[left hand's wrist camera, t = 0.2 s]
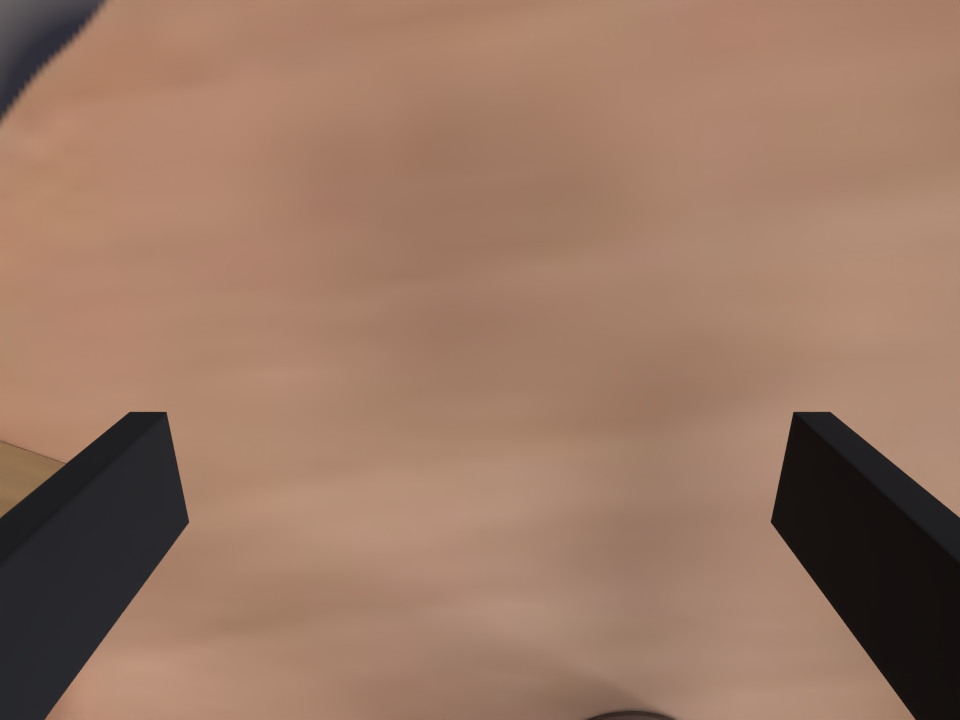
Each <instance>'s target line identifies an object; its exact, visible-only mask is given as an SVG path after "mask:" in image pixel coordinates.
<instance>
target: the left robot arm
mask: <svg viewBox="0 0 960 720" xmlns="http://www.w3.org/2000/svg"><path fill="white" fill-rule="evenodd" d="M188 523H189V519H188V514H187V510H186V505H185V500H184V495H183V490H182V485H181V480H180V476H179V471H178V466H177V461H176V456H175V451H174V446H173V442H172V437H171V432H170V427H169V422H168V417H167V412H129V413H128V414H127V415H126V416H124V417H123V418H122V419H121V420H119V421H118V422H117V423H116V424H114V425H113V426H112V427H111V428H110V429H108V430H107V431H106V432H105V433H103V434H102V435H101V436H100V437H99V438H97V439H96V440H95V441H94V442H92V443H91V444H90V445H89V446H88V447H86V448H85V449H84V450H83V451H81V452H80V453H79V454H78V455H77V456H75V457H74V458H73V459H72V460H70V461H69V462H68V463H67V464H66V465H64V466H63V467H62V468H61V469H59V470H58V471H57V472H56V473H55V474H53V475H52V476H51V477H50V478H48V479H47V480H46V481H45V482H43V483H42V484H41V485H40V486H39V487H37V488H36V489H35V490H34V491H32V492H31V493H30V494H29V495H28V496H26V497H25V498H24V499H23V500H21V501H20V502H19V503H18V504H17V505H15V506H14V507H13V508H12V509H10V510H9V511H8V512H7V513H6V514H4V515H3V516H2V517H1V518H0V720H44V719H45V718H46V717H47V715H48V714H49V712H50V711H51V710H52V708H53V707H54V706H55V704H56V703H57V702H58V700H59V699H60V697H61V696H62V695H63V693H64V692H65V691H66V689H67V688H68V687H69V685H70V684H71V682H72V681H73V680H74V678H75V677H76V676H77V674H78V673H79V672H80V670H81V669H82V668H83V666H84V665H85V663H86V662H87V661H88V659H89V658H90V657H91V655H92V654H93V653H94V651H95V650H96V648H97V647H98V646H99V644H100V643H101V642H102V640H103V639H104V638H105V636H106V635H107V633H108V632H109V631H110V629H111V628H112V627H113V625H114V624H115V623H116V621H117V620H118V618H119V617H120V616H121V614H122V613H123V612H124V610H125V609H126V608H127V606H128V605H129V603H130V602H131V601H132V599H133V598H134V597H135V595H136V594H137V593H138V591H139V590H140V588H141V587H142V586H143V584H144V583H145V582H146V580H147V579H148V578H149V576H150V575H151V573H152V572H153V571H154V569H155V568H156V567H157V565H158V564H159V563H160V561H161V560H162V559H163V557H164V556H165V554H166V553H167V552H168V550H169V549H170V548H171V546H172V545H173V544H174V542H175V541H176V539H177V538H178V537H179V535H180V534H181V533H182V531H183V530H184V529H185V527H186V526H187V524H188ZM771 523H772V524H773V526H774V527H775V529H776V530H777V531H778V533H779V534H780V535H781V537H782V538H783V539H784V541H785V542H786V544H787V545H788V546H789V548H790V549H791V550H792V552H793V553H794V554H795V556H796V557H797V559H798V560H799V561H800V563H801V564H802V565H803V567H804V568H805V569H806V571H807V572H808V573H809V575H810V576H811V578H812V579H813V580H814V582H815V583H816V584H817V586H818V587H819V588H820V590H821V591H822V593H823V594H824V595H825V597H826V598H827V599H828V601H829V602H830V603H831V605H832V606H833V608H834V609H835V610H836V612H837V613H838V614H839V616H840V617H841V618H842V620H843V621H844V623H845V624H846V625H847V627H848V628H849V629H850V631H851V632H852V633H853V635H854V636H855V638H856V639H857V640H858V642H859V643H860V644H861V646H862V647H863V648H864V650H865V651H866V653H867V654H868V655H869V657H870V658H871V659H872V661H873V662H874V663H875V665H876V666H877V668H878V669H879V670H880V672H881V673H882V674H883V676H884V677H885V678H886V680H887V681H888V682H889V684H890V685H891V687H892V688H893V689H894V691H895V692H896V693H897V695H898V696H899V697H900V699H901V700H902V702H903V703H904V704H905V706H906V707H907V708H908V710H909V711H910V712H911V714H912V715H913V717H914V718H915V719H916V720H960V518H959V517H958V516H957V515H956V514H954V513H953V512H952V511H951V510H950V509H948V508H947V507H946V506H945V505H943V504H942V503H941V502H940V501H939V500H937V499H936V498H935V497H934V496H932V495H931V494H930V493H929V492H928V491H926V490H925V489H924V488H923V487H921V486H920V485H919V484H918V483H917V482H915V481H914V480H913V479H912V478H910V477H909V476H908V475H907V474H905V473H904V472H903V471H902V470H901V469H899V468H898V467H897V466H896V465H894V464H893V463H892V462H891V461H890V460H888V459H887V458H886V457H885V456H883V455H882V454H881V453H880V452H879V451H877V450H876V449H875V448H874V447H872V446H871V445H870V444H869V443H868V442H866V441H865V440H864V439H863V438H861V437H860V436H859V435H858V434H857V433H855V432H854V431H853V430H852V429H850V428H849V427H848V426H847V425H846V424H844V423H843V422H842V421H841V420H839V419H838V418H837V417H836V416H834V415H833V414H832V413H831V412H793V417H792V422H791V427H790V432H789V437H788V442H787V446H786V451H785V456H784V461H783V466H782V471H781V476H780V480H779V485H778V490H777V495H776V500H775V505H774V510H773V514H772V519H771ZM590 720H673V719H671V718H668V717H665V716H662V715H658V714H653V713H647V712H618V713H611V714H606V715H602V716H599V717H595V718H592V719H590Z"/></svg>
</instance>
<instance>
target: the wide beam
mask: <svg viewBox="0 0 960 720" xmlns="http://www.w3.org/2000/svg"><path fill="white" fill-rule="evenodd" d="M64 465H66V464H64V463H61V462H58V461H55V460H52V459H49V458H47V457H44V456H41V455H38V454H35V453H32V452H29V451H27V450H24V449H21V448H18V447H15V446H12V445H10V444H7V443H4V442H1V441H0V518H1V517H2V516H3V515H4V514H6V513H7V512H8V511H9V510H10V509H12V508H13V507H14V506H15V505H17V504H18V503H19V502H20V501H21V500H23V499H24V498H25V497H26V496H28V495H29V494H30V493H31V492H32V491H34V490H35V489H36V488H37V487H39V486H40V485H41V484H42V483H43V482H45V481H46V480H47V479H48V478H50V477H51V476H52V475H53V474H55V473H56V472H57V471H58V470H59V469H61V468H62V467H63V466H64ZM44 720H45V719H44Z"/></svg>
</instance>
